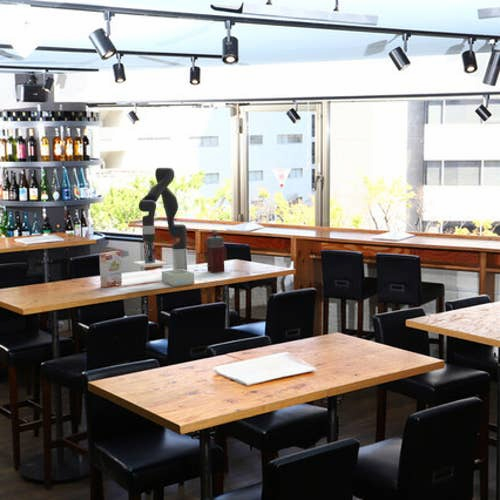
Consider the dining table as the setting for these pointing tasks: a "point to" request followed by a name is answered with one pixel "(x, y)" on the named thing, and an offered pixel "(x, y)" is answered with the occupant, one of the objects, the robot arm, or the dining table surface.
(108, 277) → the cracker box
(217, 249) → the dark red pepper mill
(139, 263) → the lid
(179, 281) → the box
